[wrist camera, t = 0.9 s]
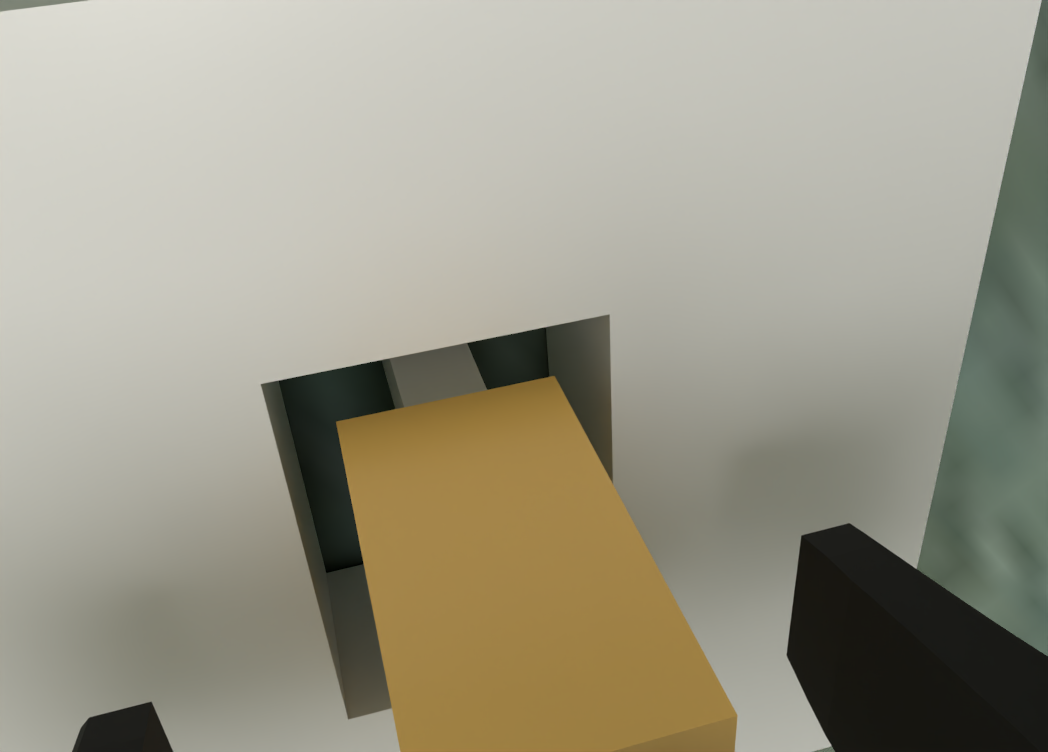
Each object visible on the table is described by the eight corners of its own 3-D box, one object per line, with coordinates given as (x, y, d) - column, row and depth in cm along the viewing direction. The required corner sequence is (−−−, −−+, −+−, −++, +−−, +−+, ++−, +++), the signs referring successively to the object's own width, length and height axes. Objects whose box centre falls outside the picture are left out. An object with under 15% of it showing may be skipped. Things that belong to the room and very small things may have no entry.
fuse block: (901, -156, 13) (1068, -125, 10) (800, 611, 21) (881, 731, 18) (-346, -11, 10) (-516, 77, 8) (88, 801, 18) (71, 969, 16)
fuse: (494, 263, 14) (749, 736, 8) (515, 496, 17) (721, 1003, 10) (311, 297, 14) (415, 833, 7) (361, 532, 16) (473, 1089, 10)
